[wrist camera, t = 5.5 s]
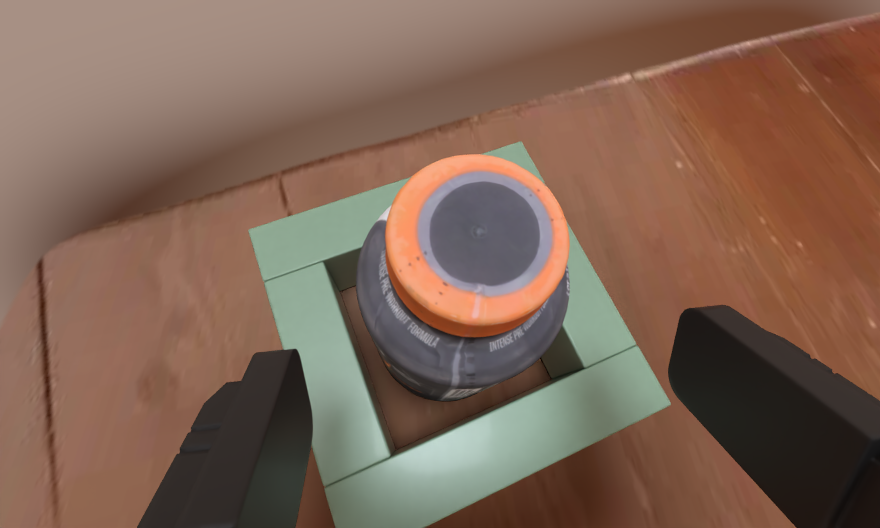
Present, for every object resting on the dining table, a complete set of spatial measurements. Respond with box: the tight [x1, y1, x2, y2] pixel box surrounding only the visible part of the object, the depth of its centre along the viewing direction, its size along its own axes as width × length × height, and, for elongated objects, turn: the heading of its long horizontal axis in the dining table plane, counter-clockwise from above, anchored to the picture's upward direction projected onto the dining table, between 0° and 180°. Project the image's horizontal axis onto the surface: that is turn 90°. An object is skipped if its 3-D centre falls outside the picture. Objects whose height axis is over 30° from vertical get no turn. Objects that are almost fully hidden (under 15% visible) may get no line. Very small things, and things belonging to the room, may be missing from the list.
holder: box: [249, 142, 671, 528], centre depth 18 cm, size 12×12×4 cm
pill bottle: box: [356, 154, 570, 401], centre depth 14 cm, size 6×6×11 cm
